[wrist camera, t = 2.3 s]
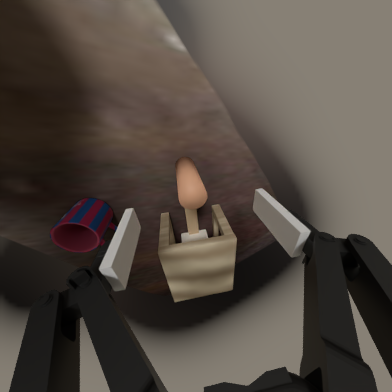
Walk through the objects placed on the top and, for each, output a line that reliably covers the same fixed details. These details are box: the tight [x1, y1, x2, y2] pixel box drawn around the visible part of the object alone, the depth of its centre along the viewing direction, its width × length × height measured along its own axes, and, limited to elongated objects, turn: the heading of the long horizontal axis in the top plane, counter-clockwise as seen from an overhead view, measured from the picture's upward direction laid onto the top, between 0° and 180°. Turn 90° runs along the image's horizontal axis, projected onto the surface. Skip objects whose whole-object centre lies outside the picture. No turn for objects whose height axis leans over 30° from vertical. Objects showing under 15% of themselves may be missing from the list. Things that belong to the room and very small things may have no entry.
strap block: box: [176, 157, 208, 243], centre depth 28 cm, size 24×6×11 cm, turn 5°
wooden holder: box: [158, 204, 237, 302], centre depth 32 cm, size 16×13×10 cm
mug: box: [50, 198, 118, 253], centre depth 27 cm, size 7×10×7 cm
